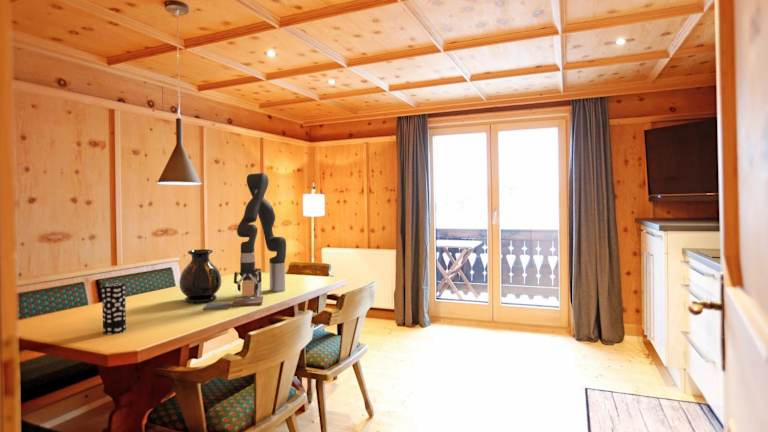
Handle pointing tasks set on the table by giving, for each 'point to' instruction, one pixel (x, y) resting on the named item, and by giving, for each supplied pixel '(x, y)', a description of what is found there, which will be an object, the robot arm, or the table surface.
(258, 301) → the post stand
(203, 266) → the dark brown ceramic vase
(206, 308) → the mat
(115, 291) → the white-spotted black cylinder
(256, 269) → the coffee box
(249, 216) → the robot arm
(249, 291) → the pinkish tan block
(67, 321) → the table surface
